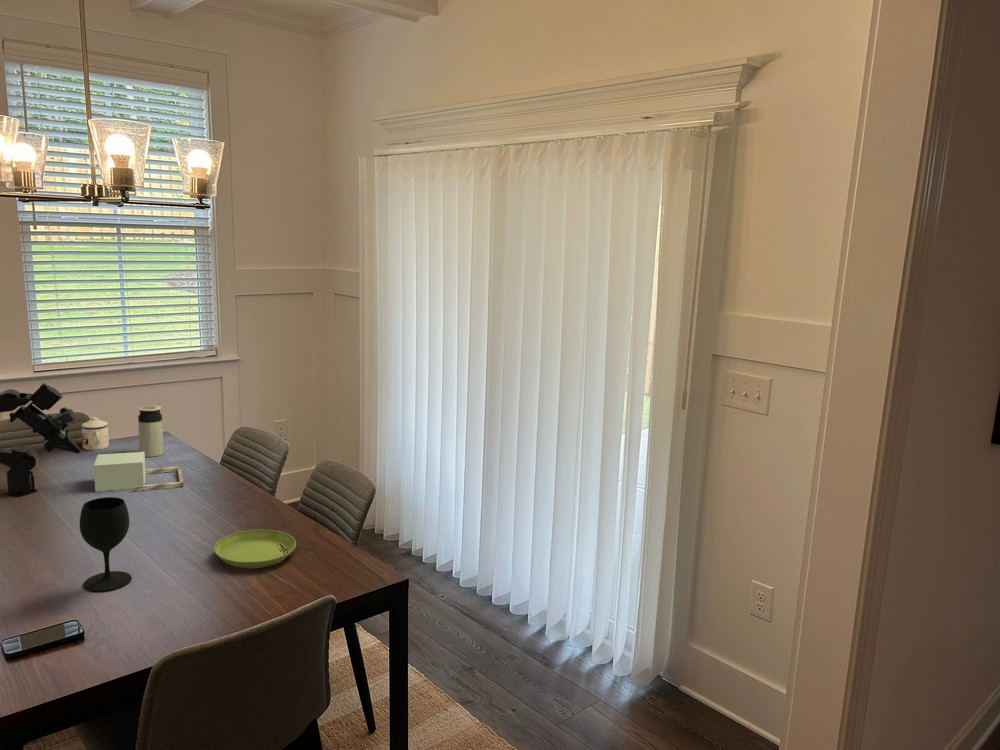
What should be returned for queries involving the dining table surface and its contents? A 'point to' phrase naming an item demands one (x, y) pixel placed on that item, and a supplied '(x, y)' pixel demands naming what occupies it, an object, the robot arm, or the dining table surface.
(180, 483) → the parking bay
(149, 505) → the dining table surface
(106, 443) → the teacup with lid
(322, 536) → the dining table surface
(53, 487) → the dining table surface
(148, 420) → the travel mug
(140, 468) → the sage box
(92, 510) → the wine glass
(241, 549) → the saucer
